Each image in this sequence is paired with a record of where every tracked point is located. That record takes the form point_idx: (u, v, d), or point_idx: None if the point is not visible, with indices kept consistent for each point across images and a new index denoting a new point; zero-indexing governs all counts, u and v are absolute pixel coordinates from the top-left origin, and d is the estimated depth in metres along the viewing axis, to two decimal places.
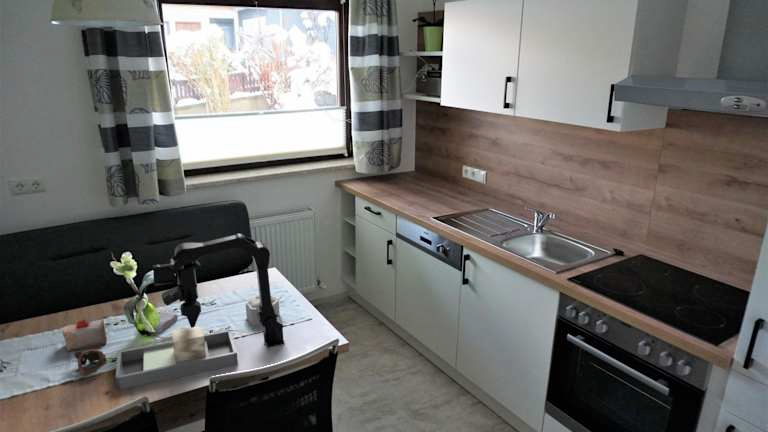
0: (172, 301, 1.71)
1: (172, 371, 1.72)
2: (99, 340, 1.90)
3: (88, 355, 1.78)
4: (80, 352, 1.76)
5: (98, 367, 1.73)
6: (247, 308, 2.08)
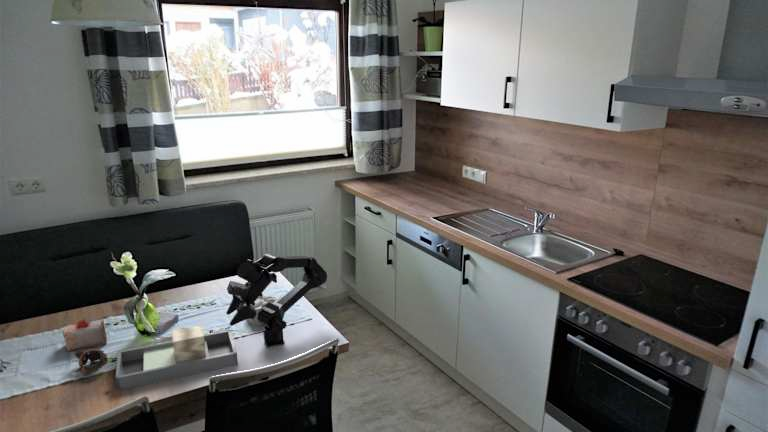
0: (238, 294, 1.78)
1: (172, 371, 1.72)
2: (100, 340, 1.90)
3: (89, 355, 1.79)
4: (81, 352, 1.77)
5: (99, 366, 1.74)
6: None
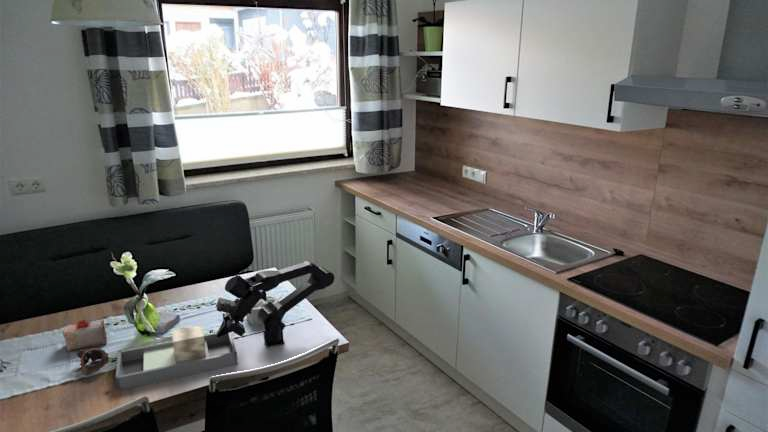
0: (227, 311, 1.78)
1: (172, 371, 1.72)
2: (100, 340, 1.90)
3: (90, 354, 1.79)
4: (82, 351, 1.77)
5: (101, 366, 1.74)
6: None
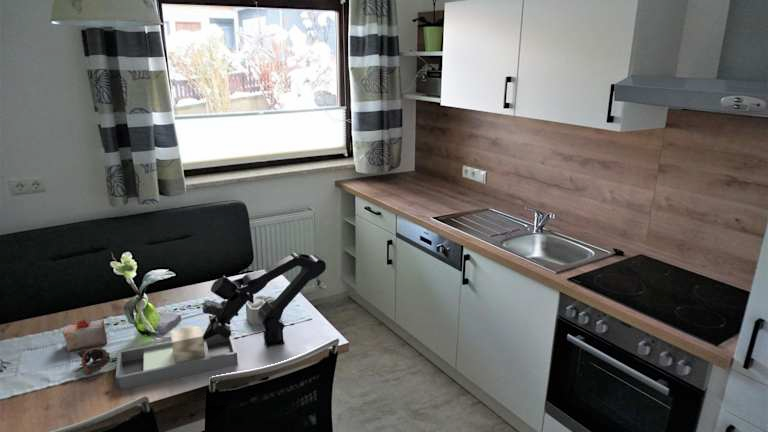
0: (213, 313, 1.76)
1: (172, 371, 1.72)
2: (100, 340, 1.90)
3: (92, 353, 1.79)
4: (84, 350, 1.77)
5: (102, 365, 1.74)
6: (247, 308, 2.08)
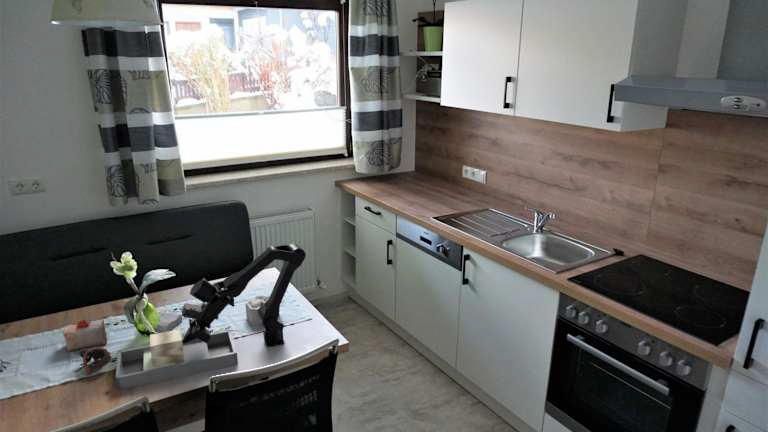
0: (192, 317, 1.74)
1: (172, 371, 1.72)
2: (100, 340, 1.90)
3: (93, 353, 1.80)
4: (85, 350, 1.78)
5: (103, 365, 1.75)
6: (247, 308, 2.08)
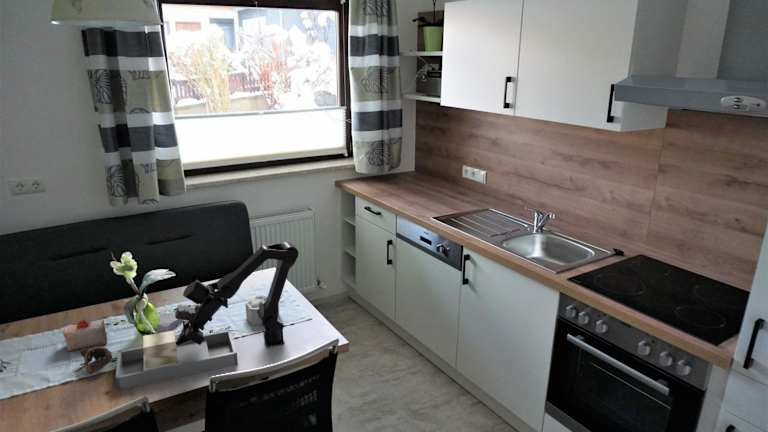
0: (185, 318, 1.73)
1: (172, 371, 1.72)
2: (100, 340, 1.90)
3: (94, 352, 1.80)
4: (86, 349, 1.78)
5: (105, 364, 1.75)
6: (247, 308, 2.08)
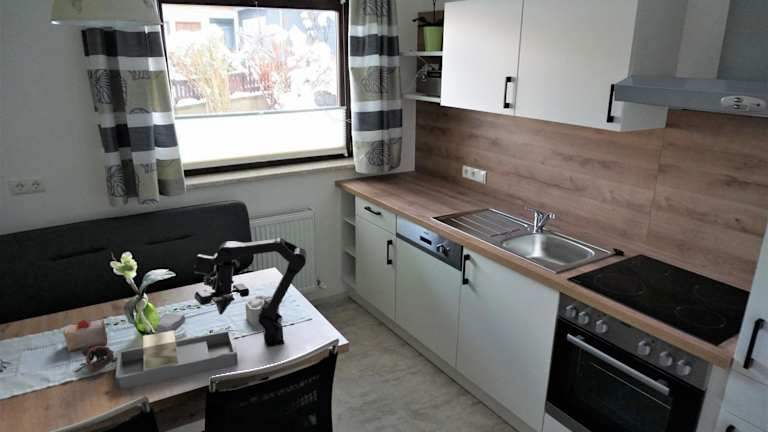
0: (205, 283, 1.88)
1: (172, 371, 1.72)
2: (100, 340, 1.90)
3: (95, 352, 1.80)
4: (87, 349, 1.78)
5: (106, 363, 1.76)
6: (247, 308, 2.08)
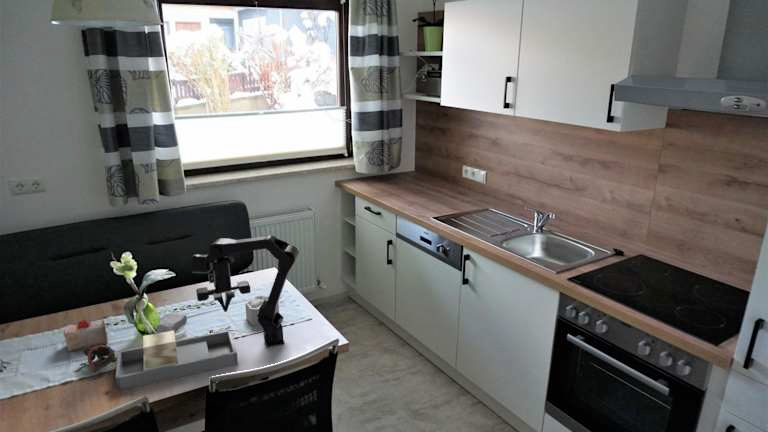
0: (209, 281, 1.92)
1: (172, 371, 1.72)
2: (101, 340, 1.90)
3: (97, 351, 1.81)
4: (89, 348, 1.79)
5: (108, 362, 1.76)
6: (247, 308, 2.08)
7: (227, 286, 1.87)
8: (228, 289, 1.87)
